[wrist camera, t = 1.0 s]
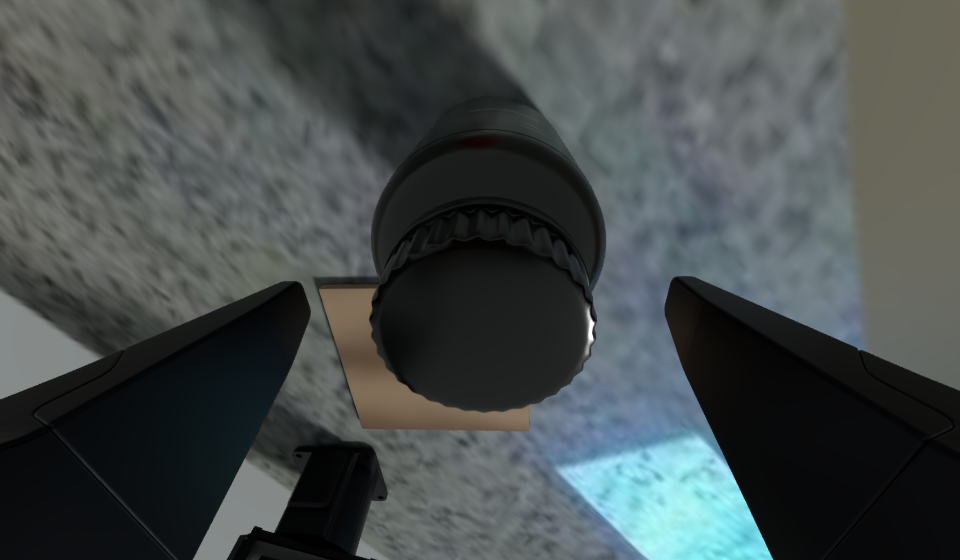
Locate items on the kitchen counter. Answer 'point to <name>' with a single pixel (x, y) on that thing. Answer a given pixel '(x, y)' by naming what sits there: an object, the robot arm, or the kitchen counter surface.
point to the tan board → (378, 387)
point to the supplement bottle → (487, 261)
